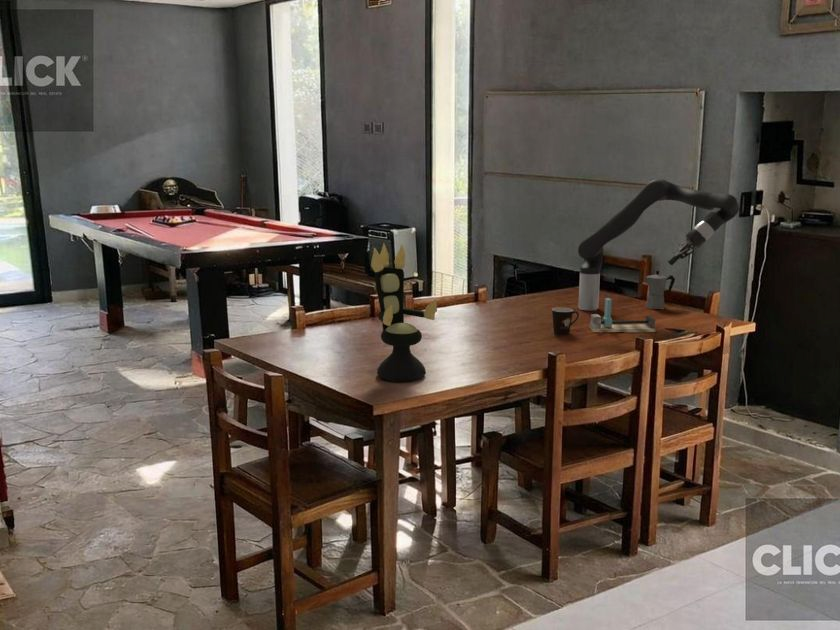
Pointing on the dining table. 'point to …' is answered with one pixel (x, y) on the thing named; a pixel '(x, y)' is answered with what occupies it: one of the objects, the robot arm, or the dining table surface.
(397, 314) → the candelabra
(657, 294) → the coffeepot
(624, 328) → the cord board
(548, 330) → the dining table surface
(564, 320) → the coffee mug
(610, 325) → the teal upright slider
